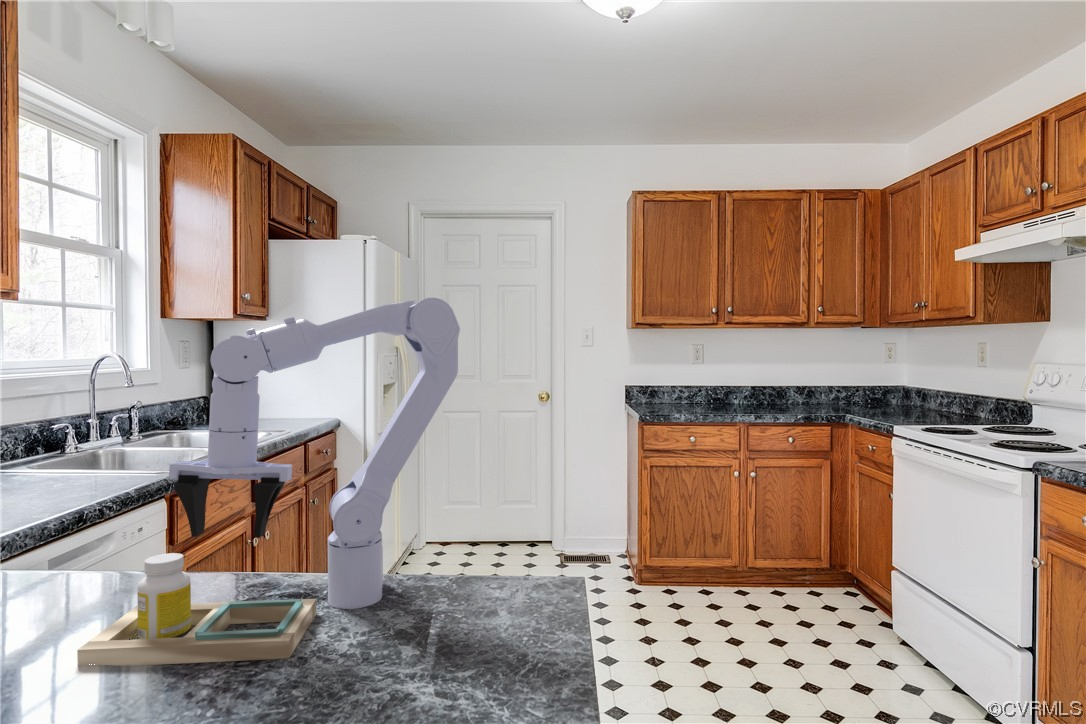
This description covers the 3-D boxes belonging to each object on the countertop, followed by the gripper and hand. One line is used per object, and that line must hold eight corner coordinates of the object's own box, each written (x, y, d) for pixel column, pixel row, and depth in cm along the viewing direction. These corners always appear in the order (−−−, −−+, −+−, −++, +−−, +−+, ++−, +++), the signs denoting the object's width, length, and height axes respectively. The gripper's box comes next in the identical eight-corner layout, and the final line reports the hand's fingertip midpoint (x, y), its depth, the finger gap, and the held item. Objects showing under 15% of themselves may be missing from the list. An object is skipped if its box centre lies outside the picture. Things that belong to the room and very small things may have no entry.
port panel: (137, 621, 80) (137, 601, 80) (316, 614, 82) (316, 594, 82) (77, 668, 68) (77, 645, 68) (289, 658, 70) (289, 636, 70)
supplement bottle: (199, 630, 78) (199, 550, 78) (175, 651, 72) (174, 565, 72) (155, 630, 78) (154, 551, 77) (127, 651, 72) (126, 565, 72)
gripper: (159, 431, 77) (153, 542, 77) (282, 435, 79) (277, 545, 79) (185, 425, 84) (180, 527, 84) (298, 429, 86) (293, 529, 86)
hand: (228, 535), depth 82 cm, fingers open, 7 cm apart
